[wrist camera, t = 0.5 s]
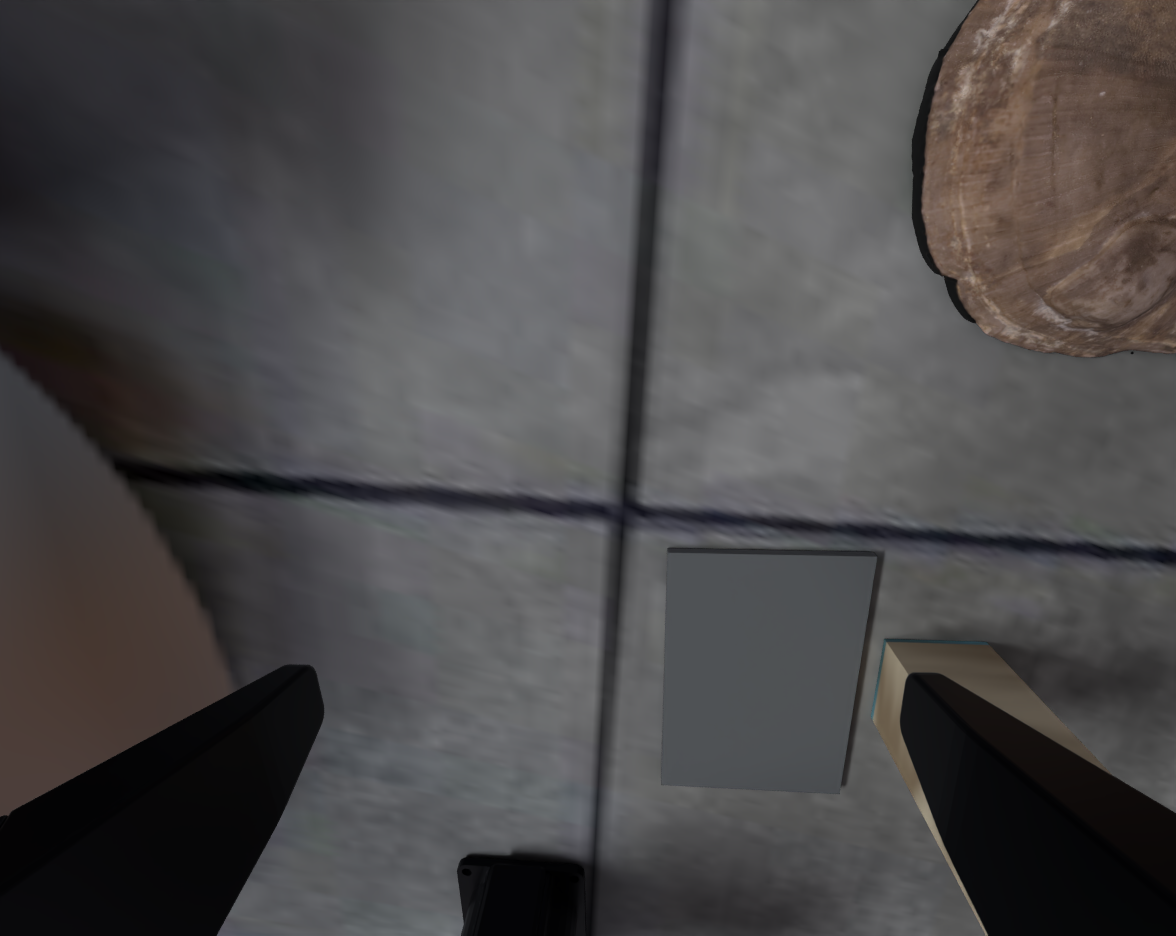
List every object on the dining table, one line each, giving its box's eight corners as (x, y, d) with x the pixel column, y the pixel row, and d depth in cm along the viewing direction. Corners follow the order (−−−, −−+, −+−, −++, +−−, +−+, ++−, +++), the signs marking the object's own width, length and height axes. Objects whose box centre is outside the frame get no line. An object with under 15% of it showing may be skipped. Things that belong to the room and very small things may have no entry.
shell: (874, 359, 21) (921, 377, 17) (934, -87, 16) (1011, -179, 13) (1225, 354, 20) (1348, 371, 16) (1382, -122, 15) (1592, -232, 12)
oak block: (967, 720, 25) (1141, 957, 16) (870, 716, 25) (991, 945, 16) (986, 641, 23) (1186, 853, 15) (884, 638, 24) (1022, 843, 15)
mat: (836, 786, 26) (839, 794, 26) (661, 777, 27) (661, 784, 27) (873, 551, 22) (877, 556, 22) (667, 548, 23) (667, 552, 23)
